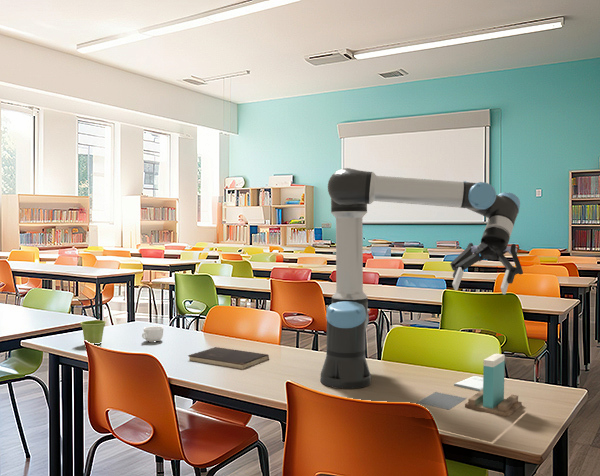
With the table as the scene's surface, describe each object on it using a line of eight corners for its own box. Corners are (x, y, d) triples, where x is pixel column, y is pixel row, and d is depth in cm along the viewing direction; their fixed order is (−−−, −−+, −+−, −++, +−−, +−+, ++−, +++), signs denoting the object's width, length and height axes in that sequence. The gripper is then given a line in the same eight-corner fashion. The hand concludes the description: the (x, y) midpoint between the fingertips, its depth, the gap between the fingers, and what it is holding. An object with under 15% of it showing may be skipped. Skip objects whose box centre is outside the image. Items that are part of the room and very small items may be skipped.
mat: (435, 393, 156) (435, 391, 156) (466, 399, 150) (466, 398, 150) (416, 403, 146) (416, 402, 146) (449, 411, 141) (449, 409, 141)
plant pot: (88, 341, 221) (88, 319, 221) (110, 342, 220) (110, 320, 219) (75, 346, 212) (75, 323, 211) (98, 347, 210) (98, 324, 210)
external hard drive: (453, 388, 162) (473, 380, 171) (480, 394, 157) (499, 385, 166) (453, 383, 162) (473, 374, 171) (480, 388, 157) (499, 380, 165)
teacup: (153, 338, 227) (153, 325, 227) (167, 340, 224) (167, 327, 224) (135, 343, 219) (135, 329, 219) (149, 345, 215) (149, 331, 215)
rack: (480, 398, 151) (480, 388, 151) (521, 406, 145) (521, 396, 145) (464, 408, 143) (465, 398, 143) (508, 418, 136) (508, 407, 136)
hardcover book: (242, 370, 180) (242, 363, 180) (188, 361, 191) (188, 355, 191) (268, 360, 194) (268, 354, 194) (216, 352, 205) (216, 346, 205)
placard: (494, 397, 148) (495, 353, 148) (503, 399, 146) (504, 354, 146) (482, 406, 141) (483, 359, 141) (492, 408, 139) (493, 361, 139)
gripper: (543, 244, 159) (527, 301, 148) (459, 242, 175) (439, 294, 163) (538, 226, 155) (522, 283, 144) (453, 225, 170) (432, 277, 159)
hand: (478, 289), depth 153 cm, fingers open, 13 cm apart
